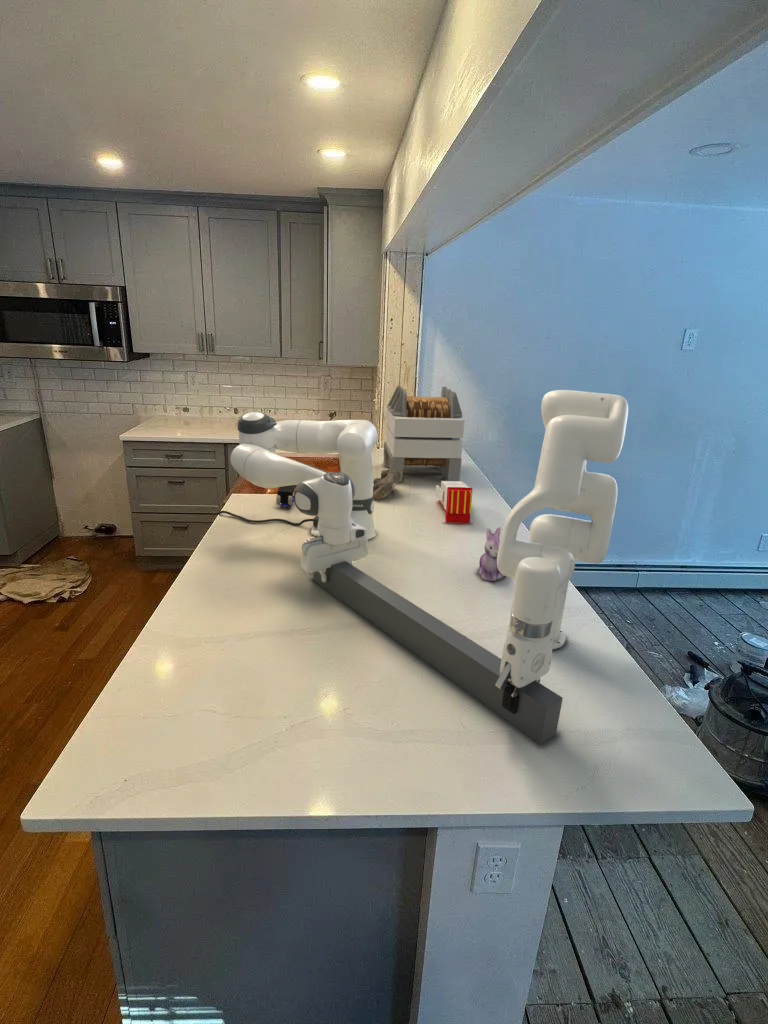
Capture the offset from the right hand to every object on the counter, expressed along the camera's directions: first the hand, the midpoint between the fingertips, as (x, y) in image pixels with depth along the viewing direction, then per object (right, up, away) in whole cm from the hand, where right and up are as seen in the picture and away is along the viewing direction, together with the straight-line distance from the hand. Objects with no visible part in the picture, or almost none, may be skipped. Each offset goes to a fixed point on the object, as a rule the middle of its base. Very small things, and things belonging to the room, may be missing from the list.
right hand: (518, 703), depth 111 cm
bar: (-20, +7, +25) cm, 33 cm away
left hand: (-40, +19, +48) cm, 65 cm away
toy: (+1, +38, +114) cm, 120 cm away
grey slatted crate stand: (-9, +56, +164) cm, 174 cm away
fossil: (-26, +45, +132) cm, 142 cm away
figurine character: (-65, +40, +113) cm, 137 cm away
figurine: (+6, +18, +61) cm, 64 cm away
